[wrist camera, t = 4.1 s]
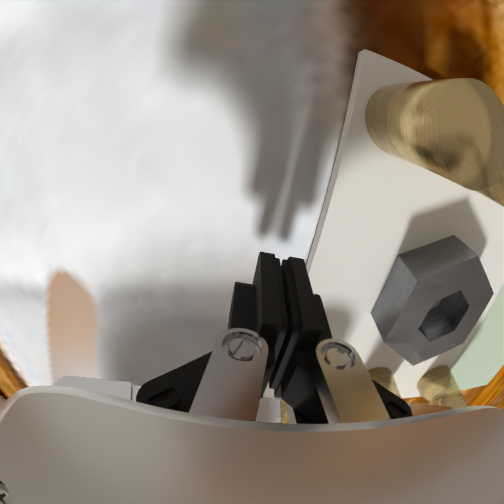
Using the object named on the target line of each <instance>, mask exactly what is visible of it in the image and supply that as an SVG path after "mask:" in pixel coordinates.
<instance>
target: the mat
mask: <svg viewBox="0 0 504 504" xmlns="http://www.w3.org/2000/svg"><path fill="white" fill-rule="evenodd" d="M429 80H432V79H430V78H429V77H427V76H425V75H423V74H421V73H419V72H417V71H415V70H413V69H411V68H409V67H407V66H404V65H402V64H400V63H398V62H396V61H393V60H391V59H389V58H386V57H384V56H381V55H379V54H376V53H374V52H371V51H369V50H366V49H364V50H362V51H360V52H359V53H358V57H357V63H356V68H355V73H354V79H353V84H352V89H351V94H350V98H349V103H348V108H347V113H346V117H345V122H344V126H343V130H342V135H341V139H340V143H339V147H338V152H337V156H336V160H335V164H334V168H333V172H332V176H331V179H330V183H329V187H328V191H327V195H326V198H325V202H324V206H323V209H322V213H321V216H320V220H319V223H318V227H317V230H316V234H315V237H314V241H313V244H312V247H311V251H310V254H309V257H308V261H307V264H306V269H307V273H308V276H309V280H310V283H311V287H312V290H313V294H319V295H320V297H321V299H322V303H323V306H324V310H325V313H326V316H327V320H328V323H329V327H330V330H331V334H332V338H333V339H339V340H342V341H345V342H347V343H348V344H350V345H351V346H352V347H354V348H355V349H356V351H357V352H358V354H359V356H360V358H361V359H362V361H363V363H364V365H365V367H366V369H367V370H369V369H372V368H376V367H386V368H389V369H390V370H391V371H392V374H393V376H394V379H395V381H396V384H397V387H398V390H399V392H400V395H401V398H410V397H419V396H420V394H419V391H418V389H417V382H418V381H419V379H420V378H421V377H422V376H423V375H424V374H425V373H427V372H428V371H430V370H431V369H433V368H435V367H437V366H440V365H447V366H448V367H449V369H450V370H451V372H452V374H453V376H454V378H455V380H456V382H457V384H458V386H459V388H460V390H464V389H469V388H474V387H479V386H483V385H487V384H488V383H489V382H490V381H491V379H492V378H493V377H494V376H495V375H496V373H497V372H498V371H499V370H500V369H501V367H502V366H503V365H504V207H503V206H501V205H499V204H498V203H496V202H494V201H492V200H491V199H489V198H487V197H485V196H483V195H482V194H480V193H478V192H476V191H474V190H469V189H467V188H464V187H462V186H460V185H458V184H456V183H454V182H452V181H450V180H448V179H446V178H444V177H442V176H440V175H438V174H435V173H433V172H431V171H429V170H427V169H424V168H422V167H420V166H417V165H415V164H412V163H410V162H408V161H405V160H403V159H400V158H398V157H395V156H392V155H390V154H388V153H385V152H384V151H382V150H381V149H380V148H379V147H378V146H377V145H376V144H375V143H374V142H373V140H372V139H371V137H370V135H369V133H368V130H367V127H366V122H365V111H366V107H367V103H368V101H369V99H370V98H371V96H372V95H373V94H374V93H375V92H376V91H377V90H379V89H380V88H382V87H385V86H389V85H396V84H403V83H411V82H419V81H429ZM451 235H455V236H456V237H457V238H458V239H460V240H461V241H462V242H463V243H464V244H466V245H467V246H468V247H469V248H470V249H472V250H473V251H474V252H475V253H476V254H477V255H478V257H479V259H480V261H481V263H482V266H483V268H484V270H485V273H486V275H487V277H488V280H489V282H490V285H491V287H492V290H493V293H494V294H493V296H492V298H491V300H490V301H489V303H488V305H487V307H486V308H485V310H484V312H483V313H482V315H481V317H480V318H479V320H478V321H477V323H476V325H475V326H474V328H473V329H472V331H471V332H470V334H469V335H468V337H467V338H466V340H465V341H464V343H463V344H461V345H459V346H456V347H454V348H452V349H450V350H448V351H446V352H444V353H442V354H440V355H437V356H435V357H433V358H431V359H428V360H426V361H424V362H421V363H419V364H416V365H414V366H412V365H411V364H410V363H409V362H407V361H406V360H405V359H404V358H403V357H401V356H400V355H399V354H398V353H396V352H395V351H394V350H393V349H392V348H390V347H389V346H388V345H387V344H385V343H384V342H383V340H382V338H381V335H380V333H379V331H378V329H377V326H376V324H375V322H374V320H373V318H372V315H371V311H372V309H373V307H374V305H375V303H376V301H377V299H378V297H379V295H380V293H381V291H382V288H383V286H384V284H385V282H386V280H387V278H388V275H389V273H390V271H391V268H392V266H393V264H394V261H395V259H396V257H397V255H399V254H402V253H405V252H407V251H410V250H413V249H416V248H419V247H422V246H424V245H427V244H430V243H433V242H435V241H438V240H441V239H443V238H446V237H449V236H451ZM440 301H441V299H440V300H437V301H435V302H434V303H433V305H432V306H431V308H430V309H432V308H434V307H437V306H438V304H439V303H440ZM263 397H265V398H274V389H270V388H269V382H268V384H267V387H266V389H265V392H264V394H263ZM276 399H280V398H276Z"/></svg>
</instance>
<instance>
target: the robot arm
mask: <svg viewBox="0 0 504 504" xmlns="http://www.w3.org/2000/svg"><path fill="white" fill-rule="evenodd" d="M268 382H269V388H270V389H274V398H281V399H282V400H284V401H285V402H286V403H287V414H288V418H289V423H290V424H287V423H268V422H255V421H256V415H257V410H258V405H259V400H260V398H262V397H263V394H264V392H265V389H266V387H267V384H268ZM0 504H504V410H503V409H501V408H496V407H492V406H469V407H462V408H456V409H454V408H452V407H448V406H437V405H426V404H417V403H410V404H409V405H408V404H407V403H406V402H405V401H404V400H403V399H401V398H400V397H398V396H397V395H395V394H394V393H392V392H391V391H389V390H388V389H386V388H385V387H383V386H382V385H380V384H379V383H377V382H376V381H374V380H373V379H372V378H371V377H370V375H369V373H368V371H367V369H366V367H365V365H364V363H363V361H362V359H361V358H360V356H359V354H358V352H357V351H356V349H355V348H354V347H352V346H351V345H350V344H348V343H347V342H345V341H342V340H339V339H333V338H332V334H331V330H330V327H329V323H328V320H327V316H326V313H325V310H324V306H323V303H322V299H321V297H320V295H319V294H313V290H312V287H311V283H310V280H309V276H308V273H307V269H306V266H305V262H304V259H300V258H294V257H289V258H288V260H284V259H283V261H282V264H281V266H280V259H278V258H275V254H270V253H264V252H260V253H259V257H258V262H257V266H256V271H255V275H254V280H253V284H246V283H239V282H235V286H234V291H233V297H232V303H231V309H230V316H229V323H228V330H226V331H224V332H223V333H222V334H220V336H219V337H218V339H217V341H216V344H215V346H214V349H213V351H212V352H210V353H208V354H206V355H204V356H202V357H200V358H198V359H196V360H193V361H191V362H189V363H187V364H185V365H183V366H181V367H179V368H177V369H174V370H172V371H170V372H168V373H166V374H164V375H161V376H159V377H157V378H155V379H152V380H150V381H148V382H147V383H145V384H144V385H142V386H136V385H132V383H131V382H125V381H113V380H103V379H94V378H85V377H77V376H65V377H62V378H60V379H58V380H57V381H56V382H55V383H54V384H53V386H34V387H28V388H24V389H21V390H19V391H17V392H15V393H14V394H12V395H11V396H10V397H9V398H8V399H7V400H6V401H5V402H4V403H3V405H2V406H1V407H0Z"/></svg>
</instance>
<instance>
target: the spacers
mask: <svg viewBox="0 0 504 504" xmlns="http://www.w3.org/2000/svg"><path fill="white" fill-rule="evenodd" d="M365 122H366V127H367V130H368V133H369V135H370V137H371V139H372V140H373V142H374V143H375V144H376V145H377V146H378V147H379V148H380V149H381V150H382V151H384V152H385V153H388V154H390V155H392V156H395V157H398V158H400V159H403V160H405V161H408V162H410V163H412V164H415V165H417V166H420V167H422V168H424V169H427V170H429V171H431V172H433V173H435V174H438V175H440V176H442V177H444V178H446V179H448V180H450V181H452V182H454V183H456V184H458V185H460V186H462V187H464V188H467V189H469V190H474V191H476V192H478V193H480V194H482V195H483V196H485V197H487V198H489V199H491V200H492V201H494V202H496V203H498V204H499V205H501V206H503V207H504V106H503V104H502V102H501V101H500V99H499V97H498V96H497V95H496V93H495V92H494V91H493V90H492V89H491V88H490V87H489V86H488V85H486V84H485V83H483V82H482V81H480V80H477V79H473V78H455V79H440V80H429V81H419V82H411V83H403V84H396V85H389V86H385V87H382V88H380V89H379V90H377V91H376V92H375V93H374V94H373V95H372V96H371V98H370V99H369V101H368V103H367V107H366V111H365ZM367 371H368V373H369V375H370V377H371V378H372V379H373V380H374V381H376V382H377V383H379V384H380V385H382V386H383V387H385V388H386V389H388V390H389V391H391V392H392V393H394V394H395V395H397V396H398V397H400V398H401V395H400V392H399V390H398V387H397V384H396V381H395V379H394V376H393V374H392V371H391V370H390V369H389V368H386V367H376V368H372V369H369V370H367ZM417 389H418V391H419V394H420V396H421V399H422V401H423V404H426V405H437V406H448V407H452V408H454V409H456V408H462V407H468V405H467V403H466V400H465V398H464V396H463V394H462V392H461V390H460V388H459V386H458V384H457V382H456V380H455V378H454V376H453V374H452V372H451V370H450V369H449V367H448V366H447V365H440V366H437V367H435V368H433V369H431V370H430V371H428V372H427V373H425V374H424V375H423V376H422V377H421V378H420V379H419V381H418V382H417ZM401 399H402V398H401ZM280 411H281V423H287V424H290V423H289V418H288V414H287V403H286V402H285V401H284V400H282V399H281V398H280Z"/></svg>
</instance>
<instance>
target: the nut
mask: <svg viewBox="0 0 504 504" xmlns="http://www.w3.org/2000/svg"><path fill="white" fill-rule="evenodd" d="M493 294H494V293H493V290H492V287H491V285H490V282H489V280H488V277H487V275H486V273H485V270H484V268H483V266H482V263H481V261H480V259H479V257H478V255H477V254H476V253H475V252H474V251H473V250H472V249H470V248H469V247H468V246H467V245H466V244H464V243H463V242H462V241H461V240H460V239H458V238H457V237H456V236H455V235H451V236H449V237H446V238H443V239H441V240H438V241H435V242H433V243H430V244H427V245H424V246H422V247H419V248H416V249H413V250H410V251H407V252H405V253H402V254H399V255H397V257H396V259H395V261H394V264H393V266H392V268H391V271H390V273H389V275H388V278H387V280H386V282H385V284H384V286H383V288H382V291H381V293H380V295H379V297H378V299H377V301H376V303H375V305H374V307H373V309H372V311H371V315H372V318H373V320H374V322H375V324H376V326H377V329H378V331H379V333H380V335H381V338H382V340H383V342H384V343H385V344H387V345H388V346H389V347H390V348H392V349H393V350H394V351H395V352H396V353H398V354H399V355H400V356H401V357H403V358H404V359H405V360H406V361H407V362H409V363H410V364H411V365H412V366H414V365H416V364H419V363H421V362H424V361H426V360H428V359H431V358H433V357H435V356H437V355H440V354H442V353H444V352H446V351H448V350H450V349H452V348H454V347H456V346H459V345H461V344H463V343H464V341H465V340H466V338H467V337H468V335H469V334H470V332H471V331H472V329H473V328H474V326H475V325H476V323H477V321H478V320H479V318H480V317H481V315H482V313H483V312H484V310H485V308H486V307H487V305H488V303H489V301H490V300H491V298H492V296H493ZM440 299H441V301H440V303H439V304H438V306H437V307H434V308H432V309H430V308H431V306H432V305H433V303H434V302H435V301H437V300H440Z"/></svg>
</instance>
